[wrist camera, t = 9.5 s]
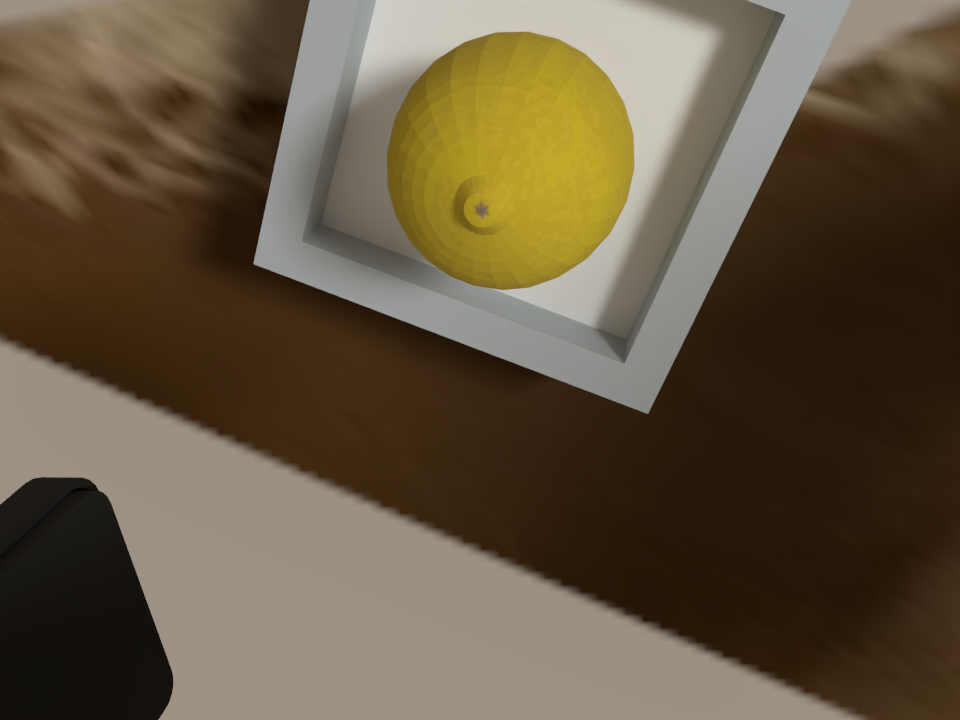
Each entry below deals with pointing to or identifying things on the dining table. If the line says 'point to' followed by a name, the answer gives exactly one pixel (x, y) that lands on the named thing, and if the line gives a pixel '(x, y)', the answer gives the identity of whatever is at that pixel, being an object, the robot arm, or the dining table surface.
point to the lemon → (510, 160)
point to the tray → (653, 191)
